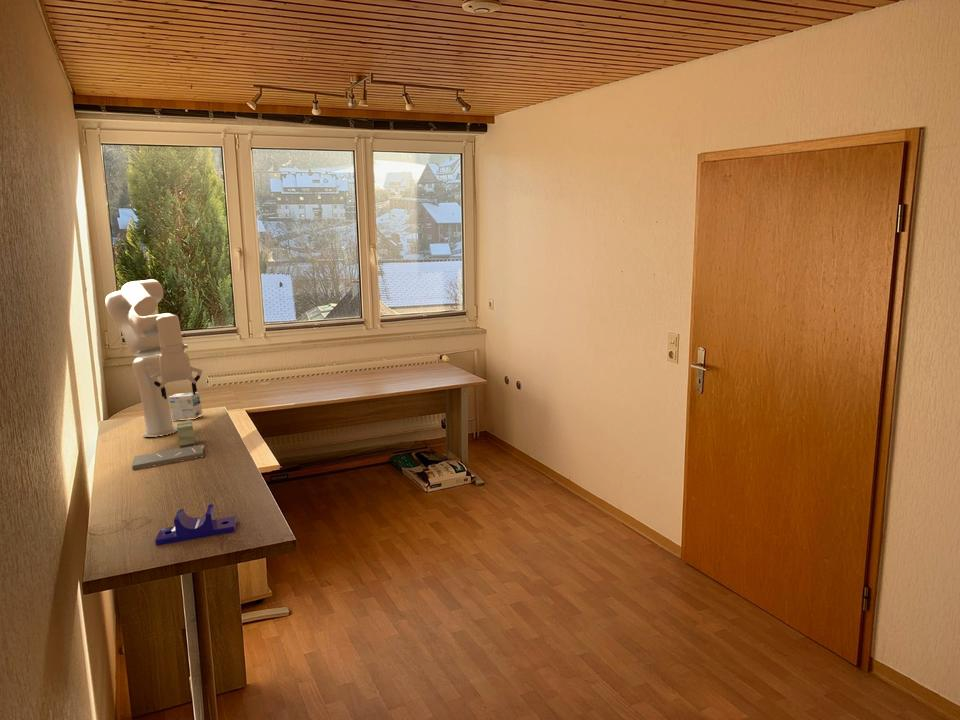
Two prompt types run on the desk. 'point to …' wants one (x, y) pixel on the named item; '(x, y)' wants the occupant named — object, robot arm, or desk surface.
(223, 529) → the mounting bracket
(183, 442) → the block
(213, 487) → the desk surface
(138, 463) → the board
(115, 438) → the desk surface
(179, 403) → the light bulb box
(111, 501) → the desk surface
